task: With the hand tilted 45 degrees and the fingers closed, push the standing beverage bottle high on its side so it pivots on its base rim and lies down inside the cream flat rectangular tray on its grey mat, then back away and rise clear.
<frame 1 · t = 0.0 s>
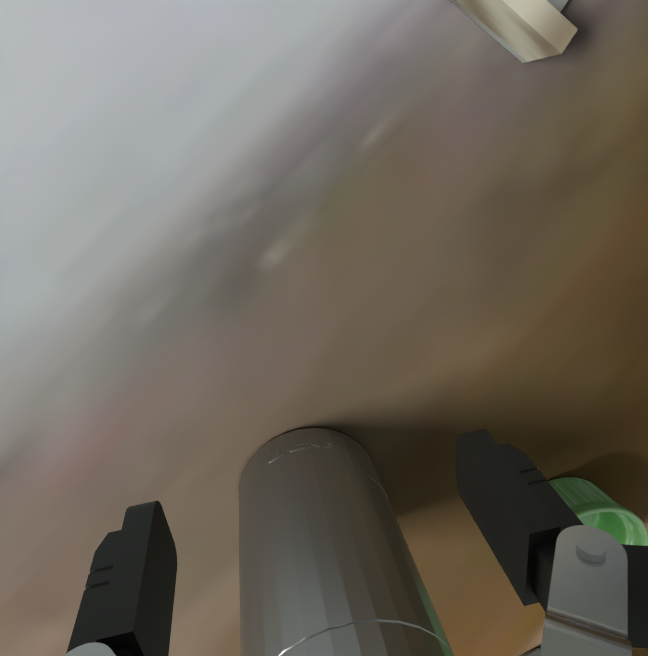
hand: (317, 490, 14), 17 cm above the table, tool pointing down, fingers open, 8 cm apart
ramekin: (551, 516, 40), on the table
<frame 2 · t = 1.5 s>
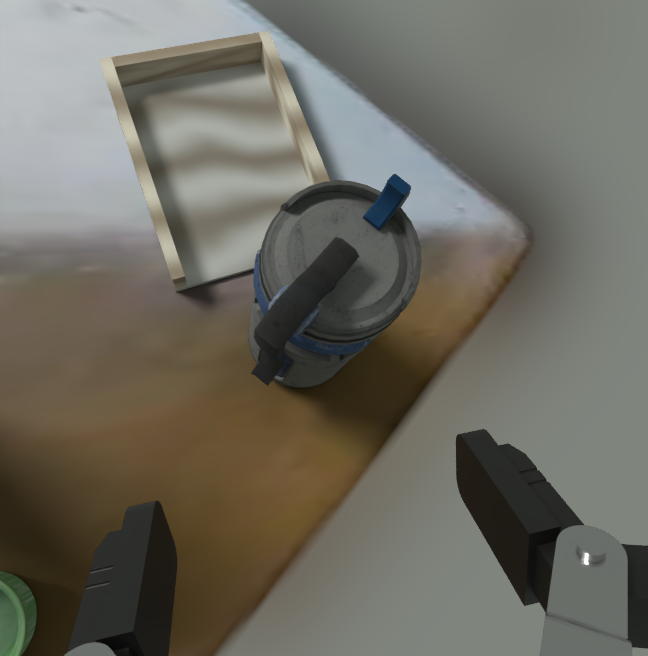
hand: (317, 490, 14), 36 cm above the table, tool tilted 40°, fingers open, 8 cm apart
cream flat rectangular tray: (225, 163, 56), on the table
beverage bottle: (292, 347, 53), on the table
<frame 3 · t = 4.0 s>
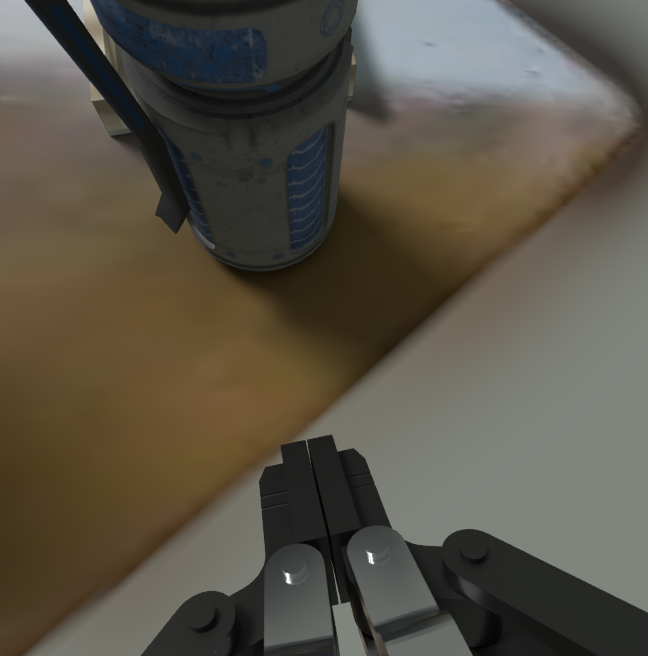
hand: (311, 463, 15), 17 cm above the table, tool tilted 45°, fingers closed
beverage bottle: (254, 222, 37), on the table
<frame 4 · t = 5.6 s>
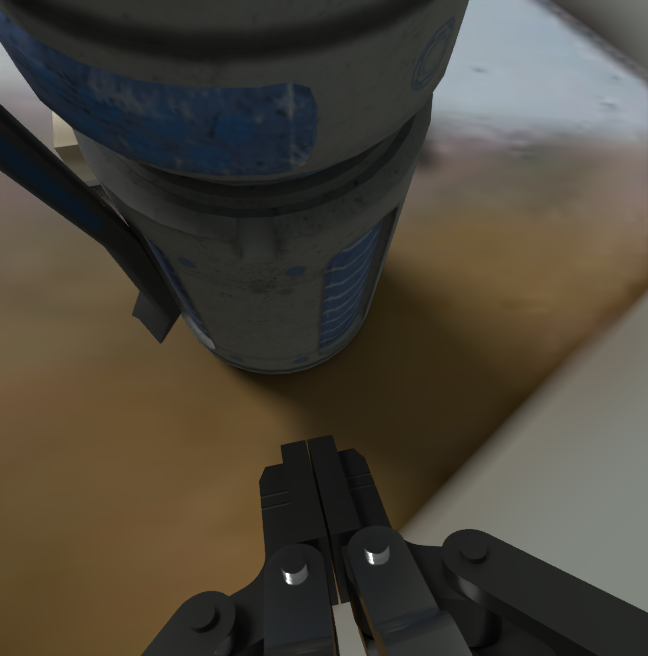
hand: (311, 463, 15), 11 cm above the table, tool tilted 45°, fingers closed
cream flat rectangular tray: (209, 10, 35), on the table
beverage bottle: (266, 301, 28), on the table
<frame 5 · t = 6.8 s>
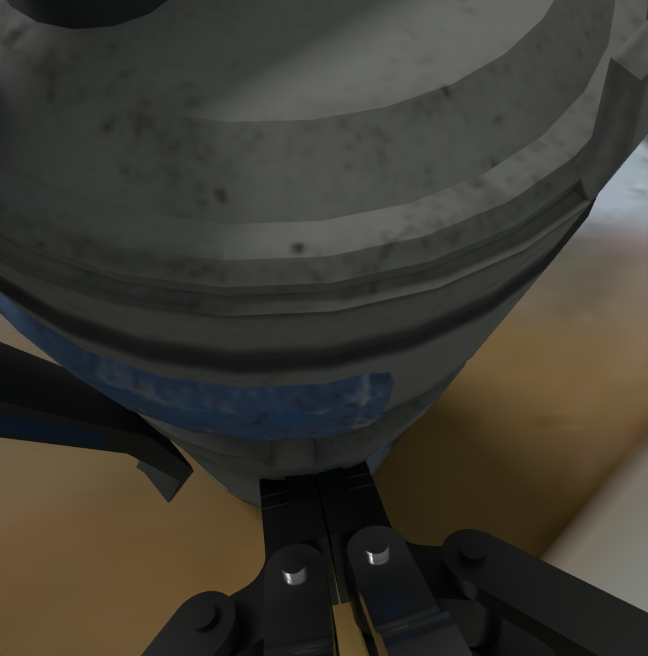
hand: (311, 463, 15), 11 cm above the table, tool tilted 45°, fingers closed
beverage bottle: (281, 420, 26), on the table, touching gripper
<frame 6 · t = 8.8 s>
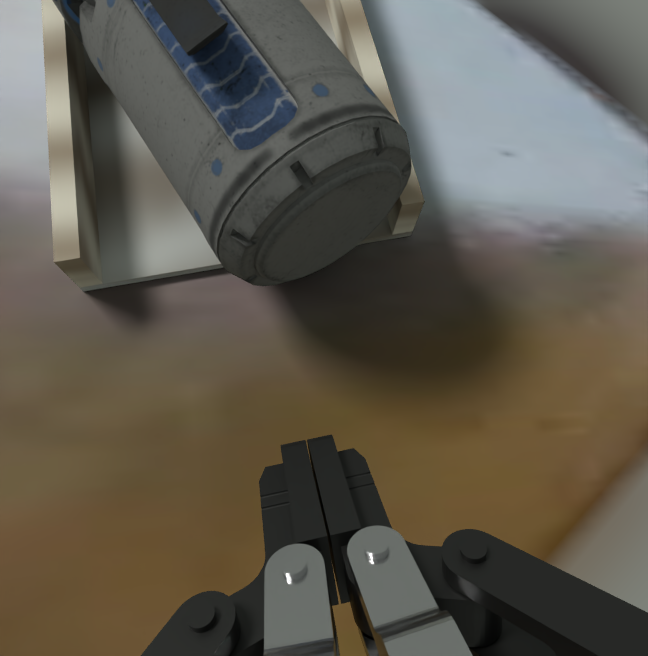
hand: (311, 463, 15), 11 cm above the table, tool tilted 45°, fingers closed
cream flat rectangular tray: (220, 87, 33), on the table
beverage bottle: (332, 228, 23), point 6 cm above the table, touching cream flat rectangular tray
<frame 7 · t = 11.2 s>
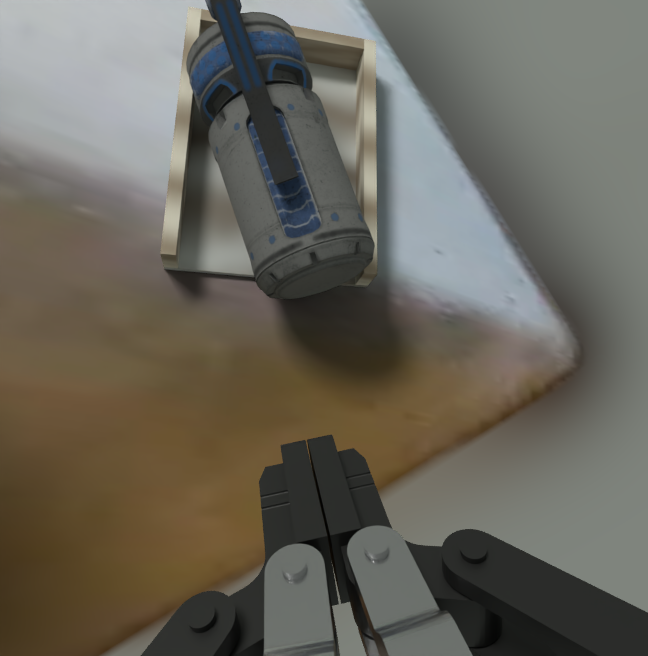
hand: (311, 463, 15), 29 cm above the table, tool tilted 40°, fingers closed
cream flat rectangular tray: (275, 157, 50), on the table
beverage bottle: (321, 281, 41), point 6 cm above the table, touching cream flat rectangular tray
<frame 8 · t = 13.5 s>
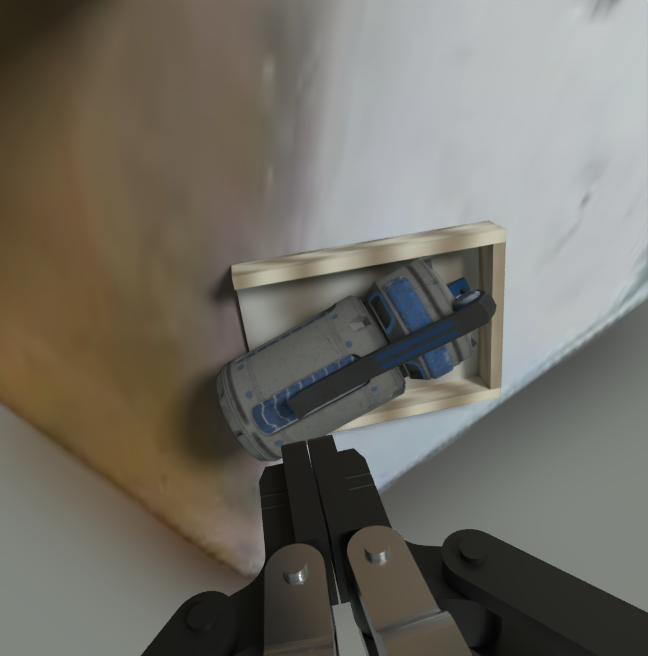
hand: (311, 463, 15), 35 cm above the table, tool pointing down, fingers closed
cream flat rectangular tray: (371, 328, 53), on the table
beverage bottle: (236, 422, 48), point 6 cm above the table, touching cream flat rectangular tray
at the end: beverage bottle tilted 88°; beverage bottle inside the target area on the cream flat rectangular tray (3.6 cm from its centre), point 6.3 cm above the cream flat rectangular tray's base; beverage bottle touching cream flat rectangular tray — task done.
